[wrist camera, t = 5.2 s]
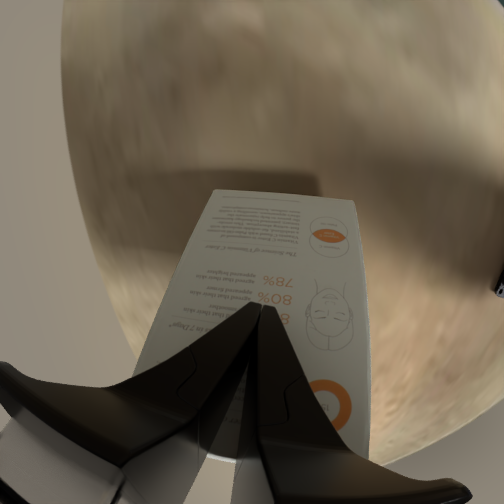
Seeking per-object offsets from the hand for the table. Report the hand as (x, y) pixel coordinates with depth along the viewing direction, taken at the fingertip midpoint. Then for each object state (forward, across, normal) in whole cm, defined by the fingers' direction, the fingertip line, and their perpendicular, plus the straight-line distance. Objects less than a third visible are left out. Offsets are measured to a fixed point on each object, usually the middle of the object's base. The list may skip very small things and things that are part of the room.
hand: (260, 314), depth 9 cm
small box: (+9, 0, 0) cm, 9 cm away
